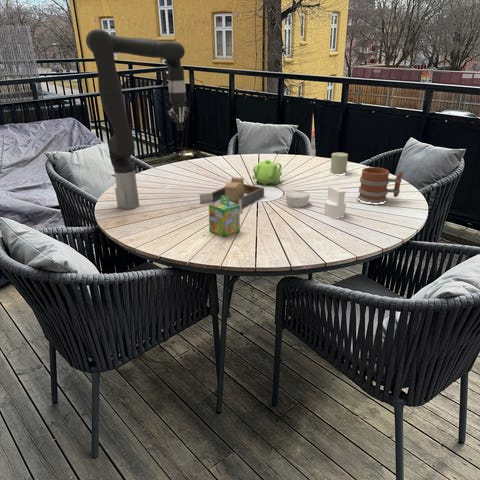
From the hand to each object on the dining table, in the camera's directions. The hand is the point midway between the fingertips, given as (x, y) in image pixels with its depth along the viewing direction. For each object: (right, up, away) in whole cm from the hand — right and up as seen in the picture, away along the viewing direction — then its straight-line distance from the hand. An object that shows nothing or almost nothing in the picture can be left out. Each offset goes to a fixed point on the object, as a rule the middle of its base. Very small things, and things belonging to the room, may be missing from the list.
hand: (180, 130), depth 196 cm
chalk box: (+22, -48, -25) cm, 58 cm away
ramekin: (+55, -35, +2) cm, 65 cm away
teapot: (+43, -21, +33) cm, 58 cm away
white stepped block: (+70, -40, -10) cm, 81 cm away
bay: (+26, -32, +8) cm, 42 cm away
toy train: (+26, -32, +8) cm, 42 cm away
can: (+85, -13, +47) cm, 98 cm away
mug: (+94, -33, +5) cm, 100 cm away
